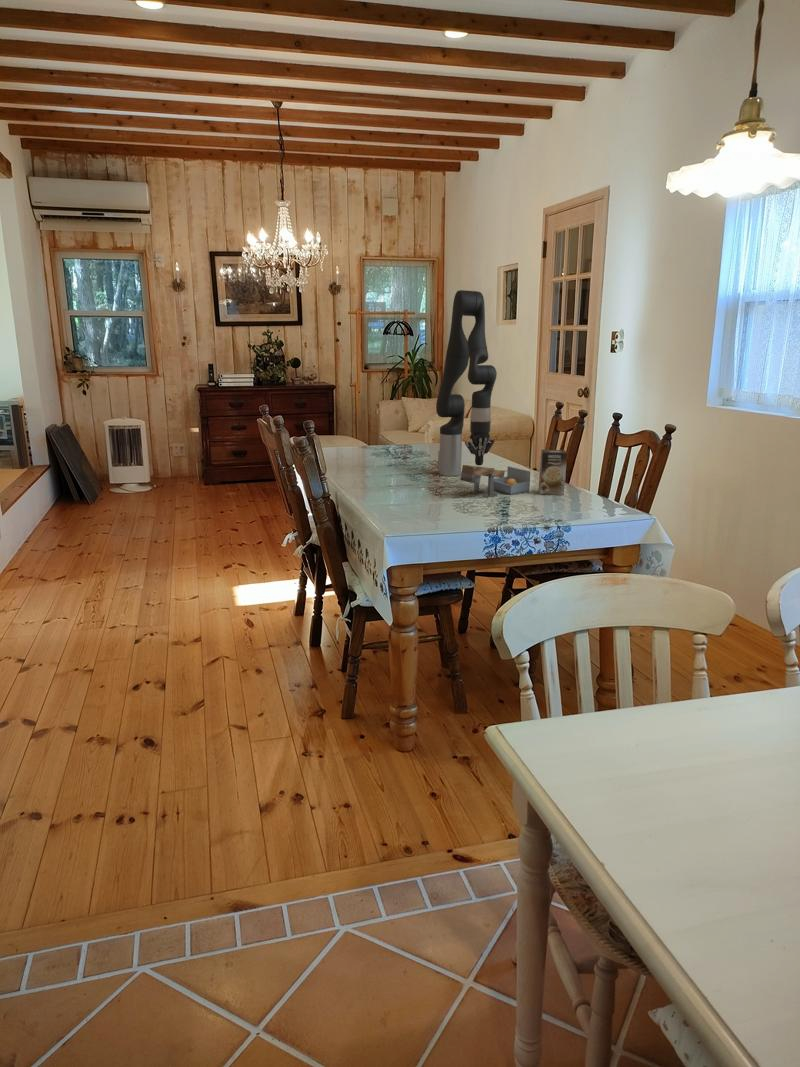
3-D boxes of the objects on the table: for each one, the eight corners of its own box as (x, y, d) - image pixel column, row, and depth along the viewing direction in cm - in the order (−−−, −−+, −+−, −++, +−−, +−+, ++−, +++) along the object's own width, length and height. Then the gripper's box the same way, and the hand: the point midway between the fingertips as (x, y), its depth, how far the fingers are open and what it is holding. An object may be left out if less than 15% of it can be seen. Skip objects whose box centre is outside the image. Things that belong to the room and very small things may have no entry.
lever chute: (471, 482, 269) (473, 467, 268) (446, 475, 281) (448, 461, 280) (502, 485, 277) (504, 471, 276) (476, 478, 290) (478, 464, 289)
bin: (510, 495, 277) (511, 473, 275) (489, 489, 287) (490, 468, 285) (529, 492, 282) (530, 471, 280) (508, 486, 292) (508, 466, 289)
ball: (513, 480, 287) (508, 489, 287) (507, 475, 284) (502, 485, 284) (520, 482, 284) (515, 491, 283) (514, 477, 281) (509, 487, 281)
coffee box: (539, 494, 277) (541, 452, 273) (538, 491, 283) (540, 449, 279) (564, 495, 276) (567, 452, 272) (562, 491, 283) (565, 449, 278)
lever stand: (487, 498, 272) (488, 474, 269) (469, 492, 280) (469, 470, 278) (497, 496, 274) (498, 473, 272) (479, 491, 283) (480, 468, 281)
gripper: (487, 417, 286) (486, 461, 291) (460, 419, 279) (459, 465, 284) (500, 419, 280) (498, 465, 285) (472, 421, 273) (471, 468, 278)
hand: (478, 465), depth 284 cm, fingers closed
